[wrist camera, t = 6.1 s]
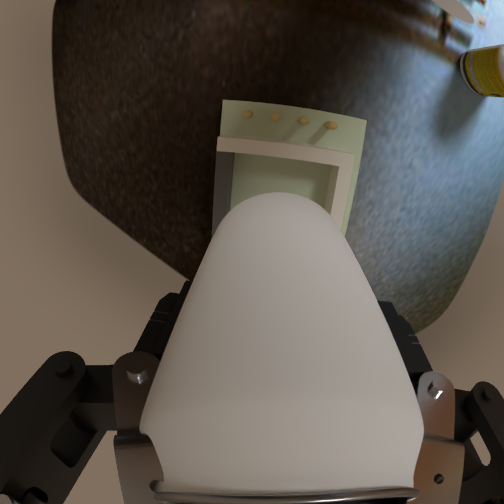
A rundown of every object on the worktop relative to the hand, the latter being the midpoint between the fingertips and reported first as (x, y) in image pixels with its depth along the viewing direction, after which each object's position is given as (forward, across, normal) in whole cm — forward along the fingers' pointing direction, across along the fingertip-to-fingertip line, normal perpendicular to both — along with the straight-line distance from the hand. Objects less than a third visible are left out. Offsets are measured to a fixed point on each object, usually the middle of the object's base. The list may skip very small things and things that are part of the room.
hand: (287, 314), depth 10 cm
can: (+5, 0, 0) cm, 5 cm away
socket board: (+15, 0, -1) cm, 15 cm away
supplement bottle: (+15, -18, -16) cm, 28 cm away
